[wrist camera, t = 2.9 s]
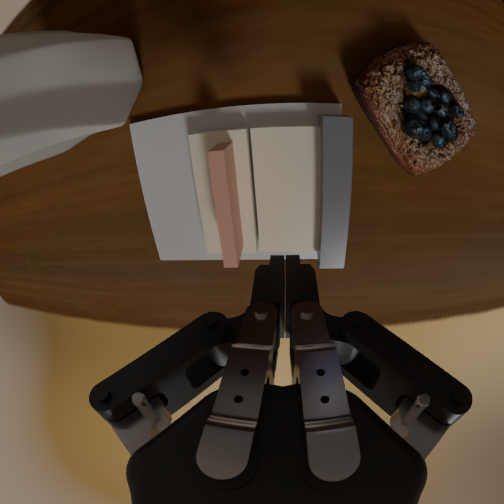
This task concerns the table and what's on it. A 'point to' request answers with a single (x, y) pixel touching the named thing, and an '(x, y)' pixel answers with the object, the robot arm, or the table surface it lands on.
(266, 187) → the white tray
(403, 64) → the pastry
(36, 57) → the vase
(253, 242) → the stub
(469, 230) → the table surface
